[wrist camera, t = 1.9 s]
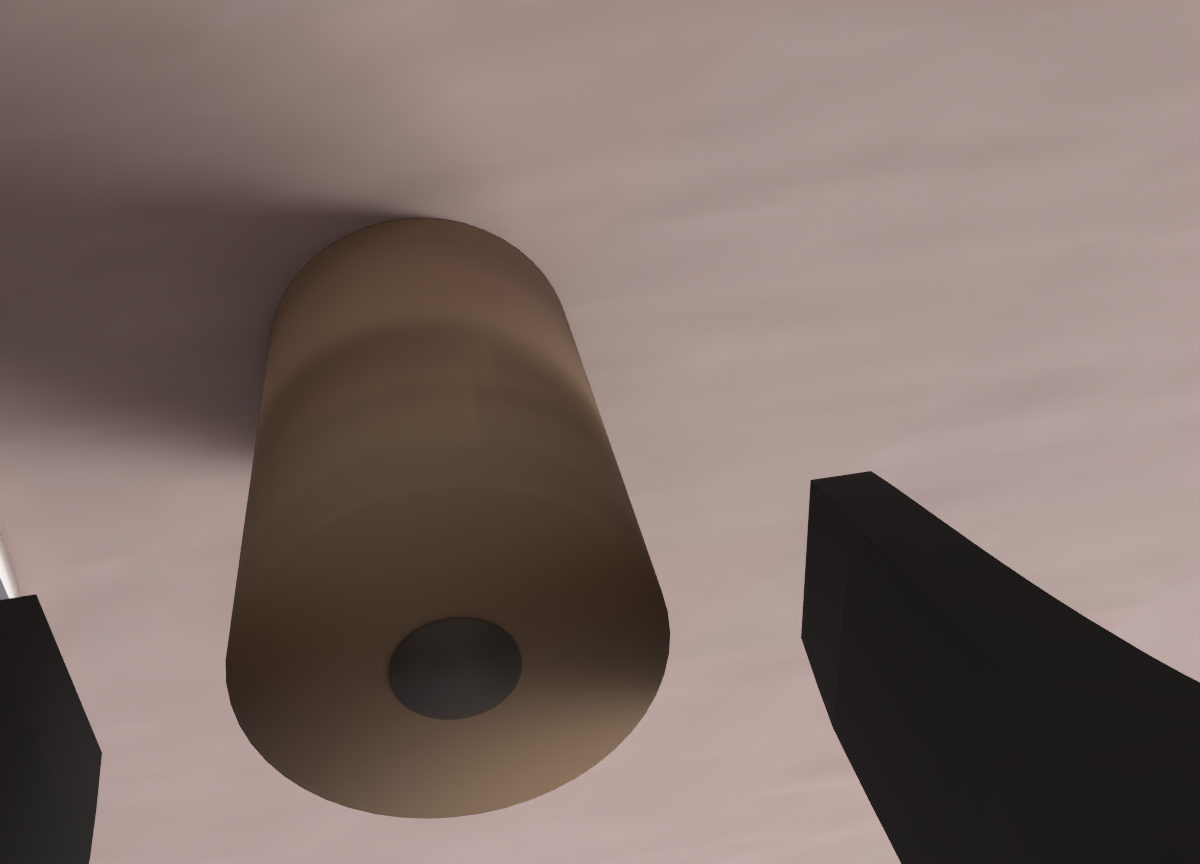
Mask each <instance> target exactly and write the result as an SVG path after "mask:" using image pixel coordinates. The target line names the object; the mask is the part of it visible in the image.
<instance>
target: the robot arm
mask: <svg viewBox="0 0 1200 864" xmlns="http://www.w3.org/2000/svg"><path fill="white" fill-rule="evenodd" d="M801 638H802V641H803V644H804V647H805V650H806V653H807V656H808V659H809V662H810V665H811V668H812V670H813V673H814V676H815V679H816V682H817V685H818V688H819V691H820V693H821V696H822V699H823V702H824V704H825V707H826V710H827V712H828V715H829V718H830V721H831V723H832V726H833V729H834V731H835V733H836V735H837V737H838V739H839V741H840V743H841V745H842V747H843V749H844V751H845V753H846V755H847V757H848V759H849V761H850V763H851V765H852V767H853V769H854V771H855V773H856V775H857V777H858V779H859V781H860V783H861V785H862V787H863V789H864V791H865V793H866V795H867V797H868V799H869V801H870V803H871V805H872V807H873V809H874V811H875V813H876V815H877V817H878V819H879V821H880V823H881V824H882V826H883V828H884V830H885V832H886V834H887V836H888V838H889V840H890V842H891V844H892V846H893V848H894V850H895V852H896V854H897V856H898V858H899V860H900V862H901V864H1200V683H1199V682H1198V681H1196V680H1194V679H1192V678H1190V677H1188V676H1186V675H1184V674H1182V673H1180V672H1178V671H1177V670H1175V669H1173V668H1171V667H1169V666H1168V665H1166V664H1164V663H1162V662H1160V661H1159V660H1157V659H1155V658H1153V657H1151V656H1150V655H1148V654H1146V653H1144V652H1143V651H1141V650H1139V649H1138V648H1136V647H1134V646H1133V645H1131V644H1129V643H1128V642H1126V641H1124V640H1123V639H1121V638H1119V637H1118V636H1116V635H1114V634H1113V633H1111V632H1109V631H1107V630H1106V629H1104V628H1102V627H1101V626H1099V625H1097V624H1096V623H1094V622H1092V621H1091V620H1089V619H1087V618H1086V617H1084V616H1082V615H1081V614H1079V613H1078V612H1076V611H1075V610H1073V609H1071V608H1070V607H1068V606H1067V605H1065V604H1064V603H1062V602H1060V601H1059V600H1057V599H1056V598H1054V597H1053V596H1051V595H1049V594H1048V593H1046V592H1045V591H1043V590H1042V589H1040V588H1039V587H1037V586H1036V585H1034V584H1033V583H1031V582H1030V581H1028V580H1027V579H1025V578H1024V577H1022V576H1021V575H1019V574H1018V573H1016V572H1015V571H1013V570H1012V569H1010V568H1009V567H1007V566H1006V565H1004V564H1003V563H1002V562H1000V561H999V560H997V559H996V558H994V557H993V556H991V555H990V554H989V553H987V552H986V551H984V550H983V549H981V548H980V547H978V546H977V545H976V544H974V543H973V542H971V541H970V540H968V539H967V538H966V537H964V536H963V535H961V534H960V533H959V532H957V531H956V530H954V529H953V528H952V527H950V526H949V525H947V524H946V523H944V522H943V521H942V520H940V519H939V518H937V517H936V516H935V515H933V514H932V513H930V512H929V511H928V510H926V509H925V508H923V507H922V506H921V505H919V504H918V503H916V502H915V501H914V500H912V499H911V498H909V497H908V496H907V495H905V494H904V493H902V492H901V491H900V490H898V489H897V488H895V487H894V486H892V485H891V484H889V483H888V482H887V481H885V480H884V479H882V478H881V477H879V476H878V475H876V474H875V473H873V472H871V471H869V472H862V473H856V474H849V475H842V476H835V477H829V478H822V479H815V480H811V485H810V502H809V518H808V535H807V552H806V568H805V585H804V601H803V618H802V634H801ZM101 757H102V752H101V750H100V747H99V745H98V742H97V740H96V738H95V735H94V733H93V730H92V728H91V726H90V723H89V721H88V718H87V716H86V714H85V711H84V709H83V706H82V704H81V701H80V699H79V697H78V694H77V692H76V689H75V687H74V685H73V682H72V680H71V677H70V675H69V673H68V670H67V668H66V665H65V663H64V660H63V658H62V656H61V653H60V651H59V648H58V646H57V644H56V641H55V639H54V636H53V634H52V632H51V629H50V627H49V624H48V622H47V619H46V617H45V615H44V612H43V610H42V607H41V605H40V603H39V600H38V598H37V595H30V596H23V597H16V598H10V599H3V600H0V864H89V859H90V853H91V845H92V838H93V830H94V822H95V815H96V806H97V796H98V786H99V776H100V766H101Z"/></svg>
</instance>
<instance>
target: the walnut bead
mask: <svg viewBox="0 0 1200 864" xmlns="http://www.w3.org/2000/svg"><path fill="white" fill-rule="evenodd" d="M669 641H670V628H669V620H668V611H667V608H666V605H665V601H664V598H663V594H662V591H661V588H660V585H659V583H658V580H657V577H656V574H655V571H654V568H653V565H652V562H651V560H650V557H649V554H648V551H647V548H646V545H645V542H644V539H643V537H642V534H641V531H640V528H639V525H638V522H637V519H636V517H635V514H634V511H633V508H632V505H631V502H630V499H629V496H628V494H627V491H626V488H625V485H624V482H623V479H622V476H621V473H620V471H619V468H618V465H617V462H616V459H615V456H614V453H613V451H612V448H611V445H610V442H609V439H608V436H607V433H606V430H605V428H604V425H603V422H602V419H601V416H600V413H599V410H598V408H597V405H596V402H595V399H594V396H593V393H592V390H591V387H590V385H589V382H588V379H587V376H586V373H585V370H584V367H583V364H582V362H581V359H580V356H579V353H578V350H577V347H576V344H575V342H574V339H573V336H572V333H571V330H570V327H569V324H568V321H567V319H566V316H565V313H564V310H563V307H562V305H561V303H560V301H559V298H558V296H557V294H556V292H555V290H554V289H553V287H552V286H551V284H550V282H549V281H548V279H547V278H546V276H545V275H544V274H543V273H542V272H541V270H540V269H539V268H538V267H537V266H536V265H535V264H534V263H533V261H531V260H530V259H529V258H528V257H527V256H526V255H524V254H523V253H522V252H521V251H520V250H519V249H517V248H516V247H514V246H513V245H511V244H510V243H508V242H506V241H505V240H503V239H502V238H500V237H498V236H496V235H493V234H491V233H489V232H487V231H485V230H483V229H480V228H477V227H474V226H471V225H468V224H465V223H460V222H455V221H449V220H444V219H431V218H412V219H399V220H394V221H388V222H383V223H379V224H376V225H372V226H369V227H366V228H363V229H360V230H358V231H356V232H353V233H351V234H349V235H347V236H345V237H342V238H341V239H339V240H338V241H336V242H334V243H333V244H331V245H330V246H328V247H326V248H325V249H324V250H322V251H321V252H320V253H319V254H318V255H316V256H315V257H314V258H313V259H311V260H310V261H309V262H308V263H307V264H306V266H305V267H304V268H303V269H302V270H301V271H300V272H299V273H298V274H297V275H296V277H295V278H294V280H293V281H292V283H291V284H290V286H289V287H288V288H287V290H286V291H285V293H284V296H283V298H282V300H281V302H280V304H279V306H278V308H277V311H276V314H275V317H274V321H273V324H272V329H271V335H270V342H269V349H268V356H267V364H266V371H265V378H264V385H263V393H262V400H261V407H260V415H259V422H258V429H257V436H256V444H255V451H254V458H253V466H252V473H251V480H250V488H249V495H248V502H247V509H246V517H245V524H244V531H243V539H242V546H241V553H240V560H239V568H238V575H237V582H236V590H235V597H234V604H233V611H232V619H231V626H230V633H229V641H228V648H227V655H226V684H227V688H228V693H229V697H230V702H231V706H232V708H233V711H234V713H235V715H236V718H237V720H238V723H239V725H240V727H241V728H242V730H243V731H244V733H245V735H246V736H247V738H248V739H249V741H250V743H251V744H252V745H253V746H254V747H255V749H256V750H257V751H258V752H259V753H260V754H261V755H262V757H263V758H264V759H265V760H266V761H267V762H268V763H269V764H271V765H272V766H273V767H274V768H275V769H276V770H278V771H279V772H280V773H281V774H282V775H283V776H285V777H286V778H288V779H289V780H291V781H293V782H294V783H296V784H297V785H299V786H300V787H302V788H304V789H305V790H307V791H309V792H312V793H314V794H316V795H318V796H320V797H322V798H324V799H326V800H329V801H332V802H335V803H337V804H340V805H343V806H346V807H349V808H353V809H357V810H361V811H365V812H369V813H374V814H380V815H387V816H395V817H405V818H447V817H458V816H466V815H473V814H480V813H485V812H489V811H493V810H498V809H502V808H506V807H509V806H513V805H516V804H519V803H522V802H525V801H528V800H531V799H533V798H536V797H538V796H541V795H543V794H545V793H548V792H550V791H552V790H555V789H556V788H558V787H560V786H562V785H564V784H566V783H568V782H569V781H571V780H573V779H575V778H577V777H578V776H580V775H581V774H583V773H584V772H586V771H587V770H589V769H590V768H592V767H593V766H595V765H596V764H597V763H599V762H600V761H601V760H602V759H604V758H605V757H606V756H607V755H608V754H610V753H611V752H612V751H613V750H614V749H615V748H616V747H617V746H618V745H619V744H620V743H621V742H622V741H623V740H624V739H625V738H626V737H627V736H628V735H629V734H630V733H631V732H632V731H633V729H634V728H635V727H636V725H637V724H638V723H639V721H640V720H641V719H642V717H643V716H644V715H645V713H646V711H647V710H648V708H649V706H650V704H651V703H652V701H653V699H654V697H655V696H656V694H657V691H658V689H659V686H660V684H661V681H662V678H663V676H664V673H665V668H666V664H667V659H668V655H669Z"/></svg>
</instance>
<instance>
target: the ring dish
mask: <svg viewBox="0 0 1200 864" xmlns="http://www.w3.org/2000/svg"><path fill="white" fill-rule="evenodd" d="M16 597H20V592H19V585H18V582H17V579H16V576H15V573H14V570H13V567H12V564H11V561H10V558H9V555H8V552H7V549H6V546H5V543H4V541H3V539H2V537H1V535H0V600H3V599H10V598H16Z"/></svg>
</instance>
